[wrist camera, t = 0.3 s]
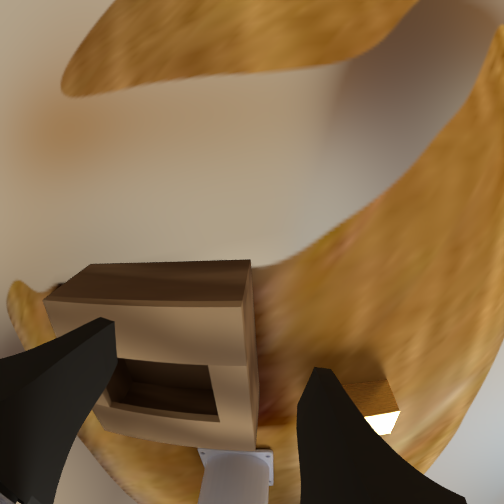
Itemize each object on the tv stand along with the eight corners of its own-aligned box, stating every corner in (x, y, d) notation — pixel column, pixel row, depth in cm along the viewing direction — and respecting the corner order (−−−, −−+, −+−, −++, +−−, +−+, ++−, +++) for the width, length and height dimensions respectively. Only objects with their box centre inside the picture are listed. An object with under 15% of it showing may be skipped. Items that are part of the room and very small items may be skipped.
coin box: (259, 393, 22) (255, 451, 17) (129, 384, 23) (104, 430, 18) (250, 259, 19) (241, 307, 13) (90, 264, 20) (42, 300, 14)
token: (379, 401, 23) (390, 432, 19) (316, 408, 23) (320, 442, 19) (386, 378, 22) (399, 411, 18) (319, 386, 22) (324, 421, 18)
